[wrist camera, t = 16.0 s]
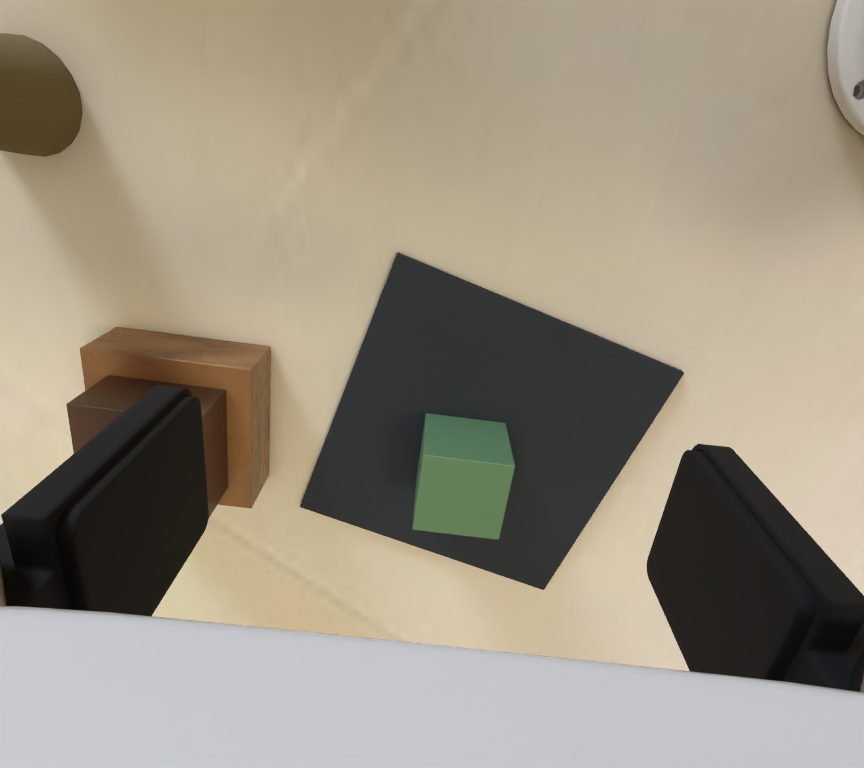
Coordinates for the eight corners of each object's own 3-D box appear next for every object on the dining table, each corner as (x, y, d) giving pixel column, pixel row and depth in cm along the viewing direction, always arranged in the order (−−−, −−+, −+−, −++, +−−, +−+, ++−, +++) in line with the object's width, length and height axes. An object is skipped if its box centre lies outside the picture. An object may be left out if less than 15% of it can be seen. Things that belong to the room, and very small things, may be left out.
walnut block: (226, 389, 33) (199, 420, 30) (228, 487, 36) (204, 526, 32) (107, 374, 33) (66, 403, 29) (119, 474, 36) (82, 512, 32)
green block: (505, 422, 38) (515, 465, 33) (492, 490, 40) (499, 540, 35) (425, 412, 38) (422, 454, 33) (416, 480, 40) (412, 530, 35)
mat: (682, 370, 37) (684, 373, 36) (543, 586, 44) (543, 590, 44) (397, 252, 34) (397, 253, 33) (301, 503, 41) (299, 507, 41)
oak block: (270, 346, 36) (251, 369, 33) (268, 475, 40) (251, 508, 37) (116, 326, 36) (79, 347, 32) (129, 458, 40) (98, 490, 36)
